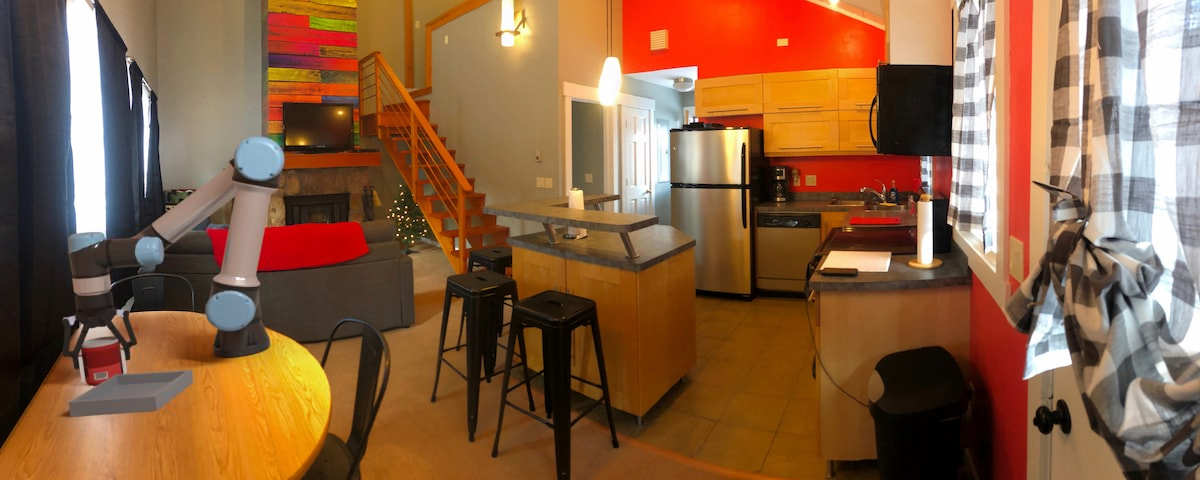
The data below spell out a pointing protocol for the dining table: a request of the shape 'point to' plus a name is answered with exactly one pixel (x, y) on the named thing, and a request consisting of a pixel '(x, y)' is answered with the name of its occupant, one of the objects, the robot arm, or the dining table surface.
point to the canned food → (101, 359)
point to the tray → (131, 393)
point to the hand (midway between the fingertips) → (104, 376)
